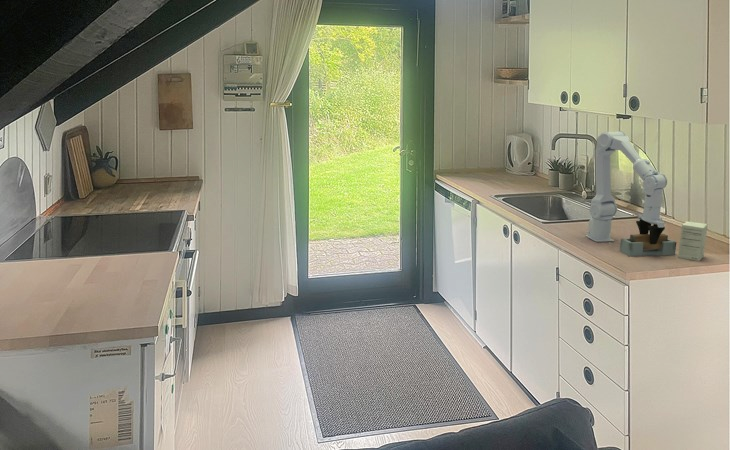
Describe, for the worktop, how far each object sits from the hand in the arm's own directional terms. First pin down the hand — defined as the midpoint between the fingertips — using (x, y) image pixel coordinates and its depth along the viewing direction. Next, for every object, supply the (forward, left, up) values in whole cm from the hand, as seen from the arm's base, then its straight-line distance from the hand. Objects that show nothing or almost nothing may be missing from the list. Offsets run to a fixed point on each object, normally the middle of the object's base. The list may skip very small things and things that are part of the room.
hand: (648, 241), depth 231 cm
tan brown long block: (0, 0, -2) cm, 2 cm away
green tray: (0, 0, -4) cm, 4 cm away
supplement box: (+7, +13, -5) cm, 15 cm away
